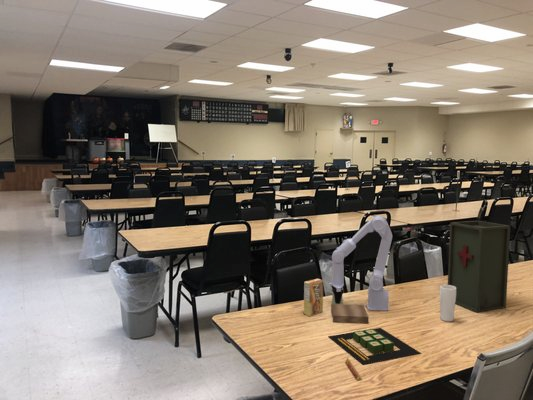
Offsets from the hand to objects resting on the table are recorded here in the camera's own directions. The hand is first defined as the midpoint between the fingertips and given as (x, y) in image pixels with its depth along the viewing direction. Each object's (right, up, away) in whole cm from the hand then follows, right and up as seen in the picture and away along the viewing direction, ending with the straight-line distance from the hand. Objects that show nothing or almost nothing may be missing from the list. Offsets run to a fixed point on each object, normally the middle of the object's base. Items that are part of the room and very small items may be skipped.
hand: (337, 301), depth 208 cm
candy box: (-13, -3, -12) cm, 18 cm away
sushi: (+6, -7, -45) cm, 46 cm away
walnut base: (+3, -3, -16) cm, 17 cm away
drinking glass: (+46, -4, -20) cm, 50 cm away
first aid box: (+68, -2, 0) cm, 68 cm away
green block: (0, -1, 0) cm, 1 cm away
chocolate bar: (-6, -8, -65) cm, 66 cm away
